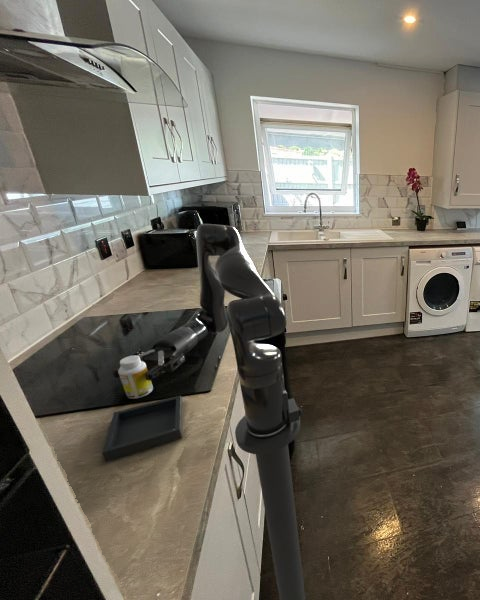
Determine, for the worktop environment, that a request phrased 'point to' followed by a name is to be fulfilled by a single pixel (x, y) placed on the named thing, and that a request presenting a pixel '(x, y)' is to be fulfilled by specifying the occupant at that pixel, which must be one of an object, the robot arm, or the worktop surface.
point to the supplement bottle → (134, 377)
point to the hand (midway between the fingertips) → (130, 376)
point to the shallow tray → (144, 428)
